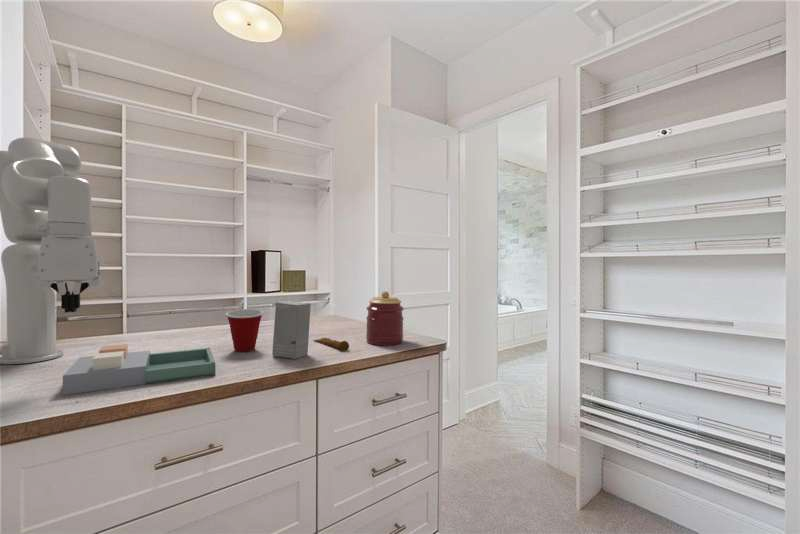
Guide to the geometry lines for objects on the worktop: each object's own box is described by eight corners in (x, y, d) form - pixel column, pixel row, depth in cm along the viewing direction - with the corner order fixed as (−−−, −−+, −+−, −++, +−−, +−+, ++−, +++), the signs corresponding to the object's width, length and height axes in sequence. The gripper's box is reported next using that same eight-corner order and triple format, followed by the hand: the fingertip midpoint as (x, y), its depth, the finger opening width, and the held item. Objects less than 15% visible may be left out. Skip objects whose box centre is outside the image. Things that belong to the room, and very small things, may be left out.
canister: (410, 341, 129) (411, 291, 129) (385, 348, 119) (386, 293, 119) (384, 336, 138) (384, 289, 137) (358, 341, 128) (358, 291, 128)
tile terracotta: (99, 361, 86) (99, 350, 86) (102, 356, 90) (102, 346, 90) (125, 358, 89) (125, 348, 88) (128, 353, 93) (128, 344, 93)
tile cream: (92, 370, 79) (92, 358, 79) (96, 364, 83) (96, 353, 83) (121, 367, 82) (121, 355, 82) (124, 361, 86) (124, 351, 86)
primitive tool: (312, 341, 128) (312, 331, 128) (326, 340, 132) (326, 330, 132) (339, 353, 114) (340, 342, 113) (355, 351, 117) (355, 340, 117)
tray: (145, 384, 82) (145, 371, 82) (150, 365, 97) (150, 353, 97) (215, 374, 90) (215, 362, 90) (209, 358, 104) (209, 347, 104)
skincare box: (271, 356, 107) (272, 302, 107) (288, 351, 114) (288, 299, 113) (295, 360, 104) (296, 304, 104) (310, 354, 110) (311, 301, 110)
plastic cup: (223, 355, 107) (223, 314, 107) (227, 347, 117) (227, 309, 117) (262, 353, 111) (263, 313, 110) (263, 345, 121) (264, 308, 121)
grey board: (62, 394, 76) (62, 375, 75) (80, 373, 89) (80, 357, 89) (145, 383, 83) (145, 366, 83) (149, 365, 96) (149, 350, 96)
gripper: (18, 229, 77) (19, 316, 78) (108, 232, 85) (109, 311, 85) (30, 231, 84) (31, 312, 84) (113, 234, 92) (114, 307, 92)
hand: (71, 311), depth 85 cm, fingers closed
